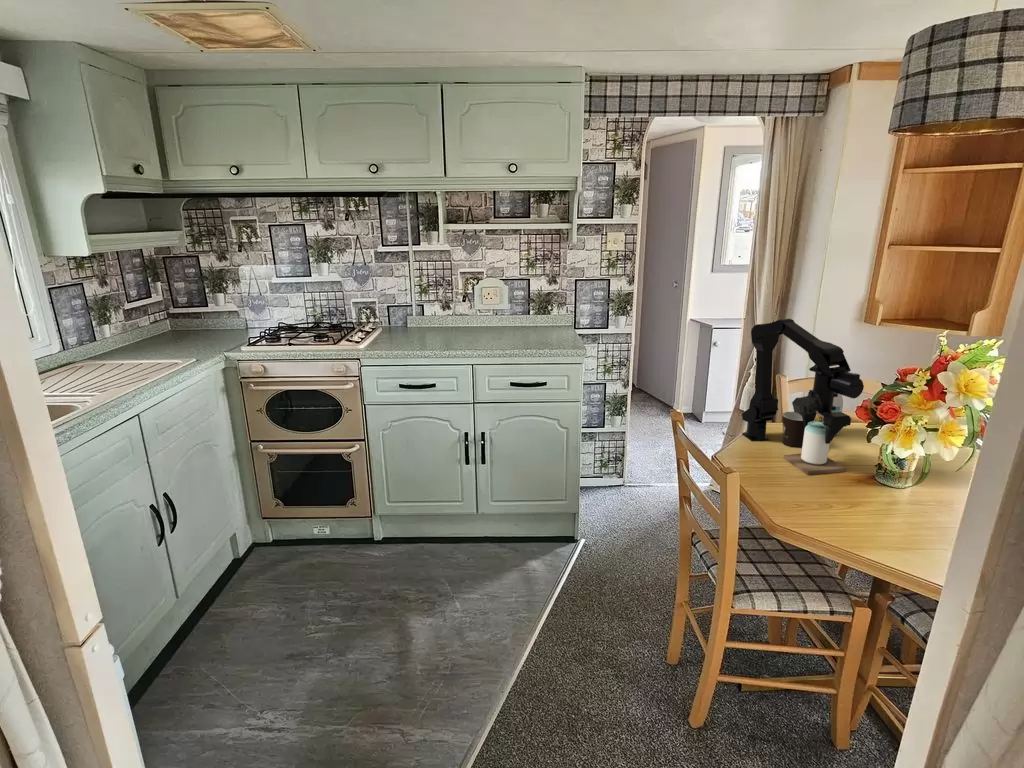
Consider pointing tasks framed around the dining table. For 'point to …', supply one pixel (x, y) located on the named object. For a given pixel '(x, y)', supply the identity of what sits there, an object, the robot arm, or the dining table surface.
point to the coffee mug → (793, 429)
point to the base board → (814, 469)
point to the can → (814, 444)
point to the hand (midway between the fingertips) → (817, 437)
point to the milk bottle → (839, 406)
